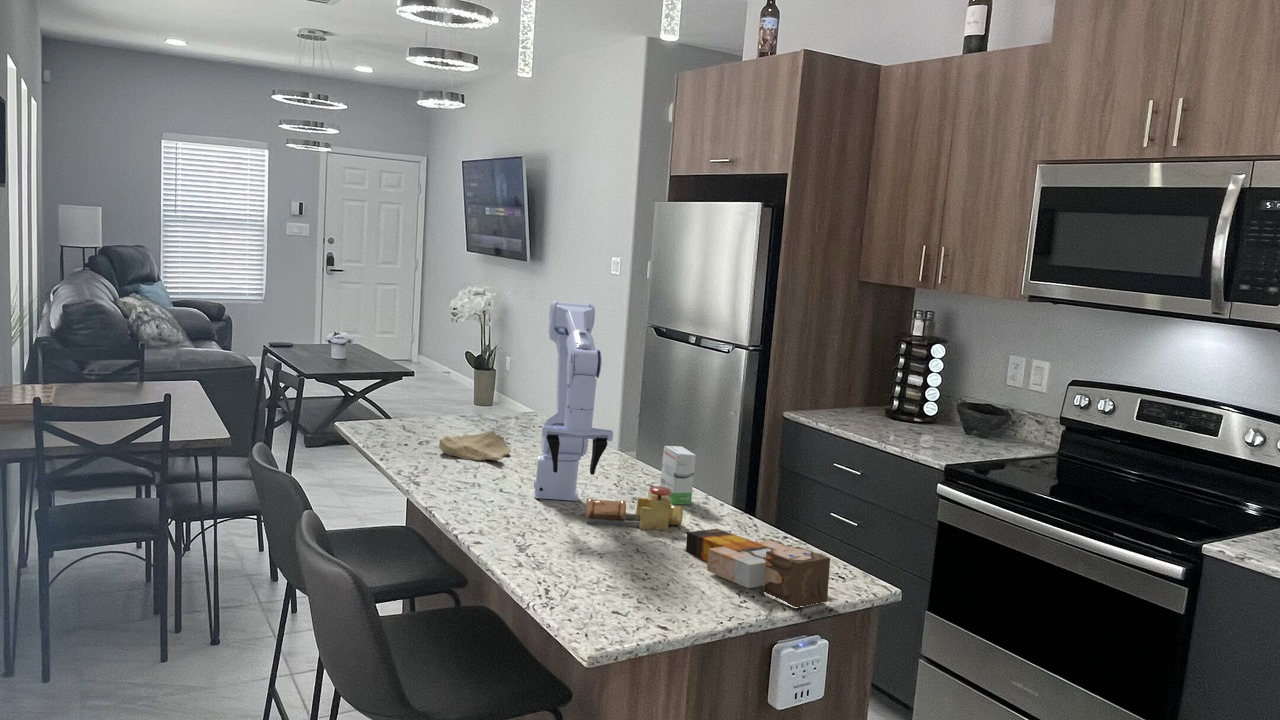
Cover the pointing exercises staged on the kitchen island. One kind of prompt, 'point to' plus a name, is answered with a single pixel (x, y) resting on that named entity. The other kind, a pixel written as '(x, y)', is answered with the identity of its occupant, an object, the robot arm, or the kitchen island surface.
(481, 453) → the rock
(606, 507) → the coupling
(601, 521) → the rails
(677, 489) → the ink box
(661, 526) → the valve
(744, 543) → the toy
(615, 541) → the kitchen island surface
